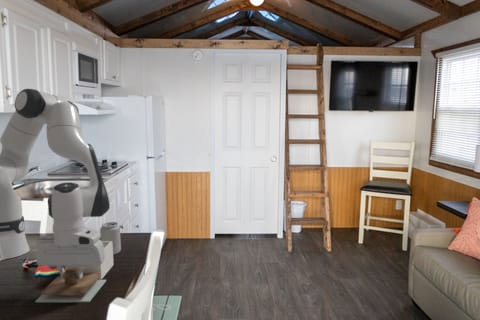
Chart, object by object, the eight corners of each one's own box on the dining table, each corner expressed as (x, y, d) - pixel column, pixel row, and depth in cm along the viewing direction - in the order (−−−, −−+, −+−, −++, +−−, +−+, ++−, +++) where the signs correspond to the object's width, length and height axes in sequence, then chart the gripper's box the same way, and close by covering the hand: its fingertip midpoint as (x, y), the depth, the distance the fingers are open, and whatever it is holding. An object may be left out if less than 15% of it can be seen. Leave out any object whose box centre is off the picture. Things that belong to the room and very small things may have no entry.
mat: (35, 302, 109) (35, 301, 109) (58, 280, 123) (58, 279, 123) (89, 302, 109) (89, 300, 109) (106, 280, 123) (106, 279, 123)
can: (124, 249, 151) (122, 221, 150) (116, 256, 144) (114, 227, 142) (106, 249, 152) (105, 220, 150) (97, 256, 144) (96, 226, 143)
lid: (41, 295, 109) (39, 279, 109) (61, 275, 122) (60, 261, 122) (84, 295, 109) (83, 279, 109) (100, 275, 122) (100, 261, 122)
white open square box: (65, 279, 124) (64, 254, 123) (81, 264, 136) (79, 241, 135) (101, 279, 124) (100, 253, 123) (113, 264, 136) (112, 241, 135)
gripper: (30, 239, 111) (33, 282, 112) (98, 239, 111) (100, 282, 112) (41, 232, 117) (44, 273, 119) (105, 232, 117) (107, 273, 119)
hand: (72, 278), depth 116 cm, fingers closed on lid, 3 cm apart
